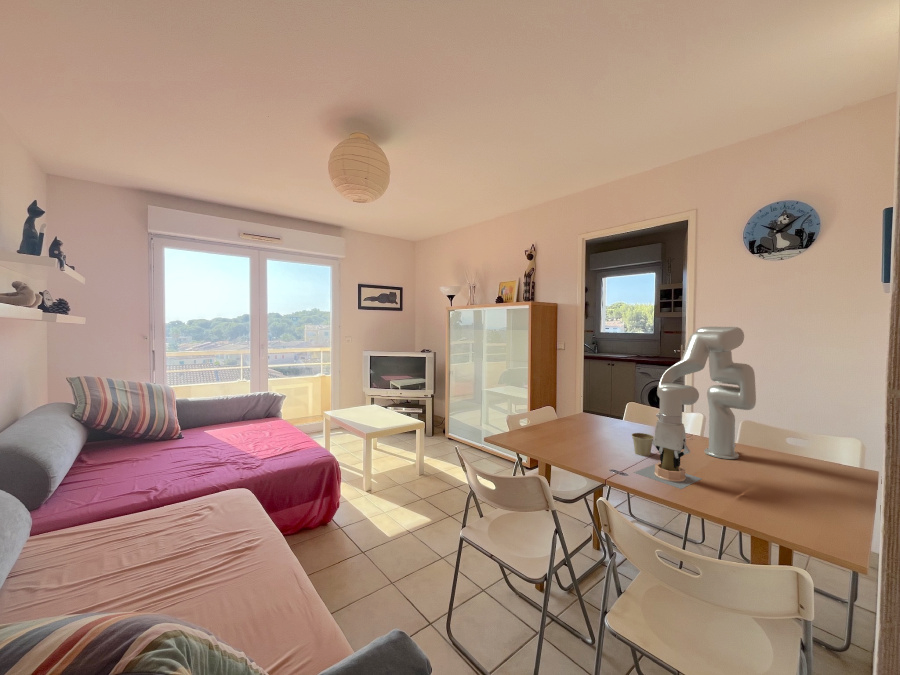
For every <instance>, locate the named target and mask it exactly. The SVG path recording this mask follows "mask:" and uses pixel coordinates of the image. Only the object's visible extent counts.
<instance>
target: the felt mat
mask: <svg viewBox="0 0 900 675" xmlns="http://www.w3.org/2000/svg"><path fill="white" fill-rule="evenodd" d="M655 464H656V463H655ZM655 464H652V465H649V466H647V467H643V468H641V469H638V470H636V471H633V474H636V475H640V476H642V477H645V478H648V479H651V480H653V481H656V482H660V483H662V484H665V485H667V486H668V485H669V486H671V487H674V488H677V489H680V490H682V489H684V488H686V487H689V486H690V485H693V484H694V483H696V482H699V481H701V480H703V477H698V476H694V475H691V474H689V473H686V472H685V478H686V479H685V481H683V482H671V481H666V480H663V479H660V478H658V477H656V476H655Z"/></svg>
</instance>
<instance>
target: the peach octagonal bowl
mask: <svg viewBox="0 0 900 675" xmlns="http://www.w3.org/2000/svg"><path fill="white" fill-rule="evenodd" d="M661 466H662V464H661V461H660V462H657V463H655V476H656V477H658V478H660V479H663V480H666V481H671V482H683V481H685V479H686V478H685V473H686V469H685V468H684V467H683V466H681V465H680V466H679V467H678V469H679V471H668V470H665V469H662V468H661Z"/></svg>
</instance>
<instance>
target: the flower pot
mask: <svg viewBox="0 0 900 675" xmlns="http://www.w3.org/2000/svg"><path fill="white" fill-rule="evenodd" d="M630 436H631V437H632V440H633V446H634V447H633V448H634V455H638V456H641V457H649V456H651V453H652V452H651V451H652V447H653V444H652V441H653V440H654V436H655V435H652V434H649V433H644V432H635V433H631V435H630Z"/></svg>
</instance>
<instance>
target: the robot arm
mask: <svg viewBox="0 0 900 675" xmlns="http://www.w3.org/2000/svg"><path fill="white" fill-rule="evenodd" d="M744 340H745V332H744V331H743V329H742V328H741V327H738V326H701V327H699V328H697V329H696V330H695V332H693V333H692V334H691V335H690V336H689V338H688V340H687V343H686V347H685V349H684V351H683V354H682V356H681V359H680V360H679V361H677V362H676V363H675V364H673V365H671V366H670V367H669V368H667V369H666V370H665V371H664V372H663V374H662V376H661V378H660V380H659V382H658V385H657V389H656V390H657V391H656V395H657V397H658V398H659V413H656V417H657V418H658V420H656V424H655V430H654V435H653V436H654V439H653V441H652V446H654V447H655V448H656V450H657V451H658V453H659V455H660V456H659V460H660V462H661V464H662V461H663V454H664V450H663V448H667V449H670V450H674V454H675V458H673V462H674V468H677V466H678V467H679V466H681V458H682V457H683V456H685V455H688V454H690V453H691V450H690V448H689V447H688V445H687V437H686V436H687V435H686V428H685V424H684V423H683V406H691V405H694V404H696V403H697V402H698V400H699V397H700V392H699V390H698V389H697V388H696V387H695V386H692V385H685V384H680V383H674V382H675V381H676V380H677V379H678V378H681V377H683V376H687V375H690V374H694V373H698V372H700V371H702V370H704V368H705V366H706V364H707V361H708V367H709V377H710V379H711V381H712V382H715V383H718V384H715V385H711V386H709V387H708V389H707V391H706V397H707V402H708V403H707V404H708V412H709V414H708V415H709V416H708V417H709V420H708V447H706V448H704V453H705V454H706V455H708V456H710V457H714V458H717V459H725V460H736V459H737V460H738V459H739V457H740V454H739V453H738V452H737V451H735V448H736V446H737V444H736V441H735V440H736V437H735V436H736V415H735V414H734V413H733V411H732V409H737V410H741V411H742V410H743V411H751V410H753V409H754V408H755V407H756V403H757V391H756V375H755V370H754V368H753V367H752V366H751V365H749V364H747V363H742V362H741V363H739V362H734V361H733V355H732V351H733V350H735V349H737V348H739V347H740V346H741V345H742V344H743V342H744ZM723 384H726V385H723ZM733 385H734V386H733ZM682 450H683V451H682Z"/></svg>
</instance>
